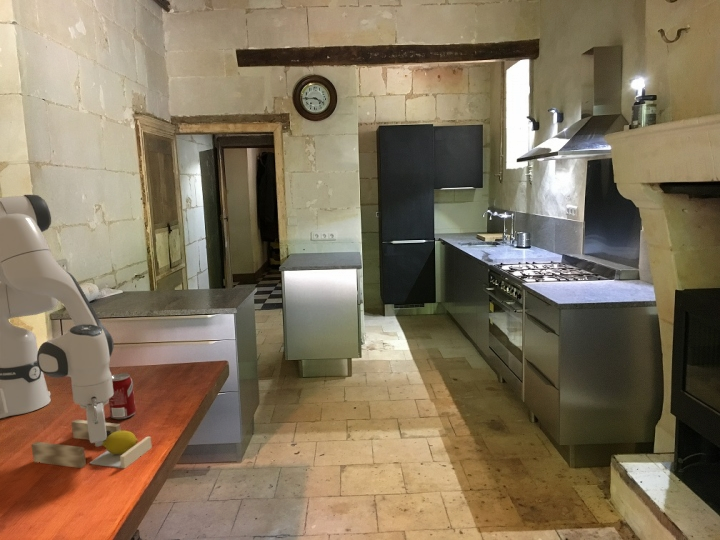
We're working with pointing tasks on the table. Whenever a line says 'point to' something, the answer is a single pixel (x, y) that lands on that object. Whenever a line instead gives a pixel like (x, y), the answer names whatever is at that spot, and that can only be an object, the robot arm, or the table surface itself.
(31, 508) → the table surface
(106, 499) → the table surface
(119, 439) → the lemon
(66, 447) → the chute
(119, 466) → the grey ledged plate
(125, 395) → the soda can
